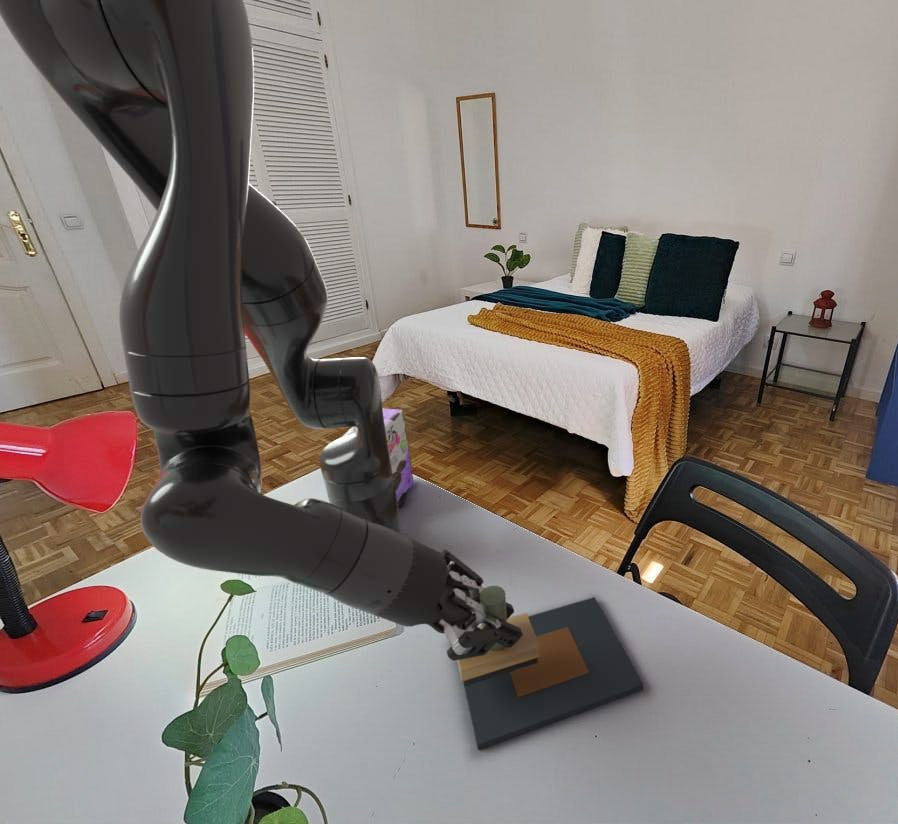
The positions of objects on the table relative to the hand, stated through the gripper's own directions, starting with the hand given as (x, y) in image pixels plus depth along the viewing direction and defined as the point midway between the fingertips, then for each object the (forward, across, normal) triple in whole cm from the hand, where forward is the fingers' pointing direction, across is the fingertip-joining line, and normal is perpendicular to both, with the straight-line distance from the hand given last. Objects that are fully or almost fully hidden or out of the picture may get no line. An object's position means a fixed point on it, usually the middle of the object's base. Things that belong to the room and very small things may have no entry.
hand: (512, 625), depth 56 cm
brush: (+2, 0, +5) cm, 5 cm away
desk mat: (+9, 0, +4) cm, 10 cm away
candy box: (-3, +41, +15) cm, 44 cm away
